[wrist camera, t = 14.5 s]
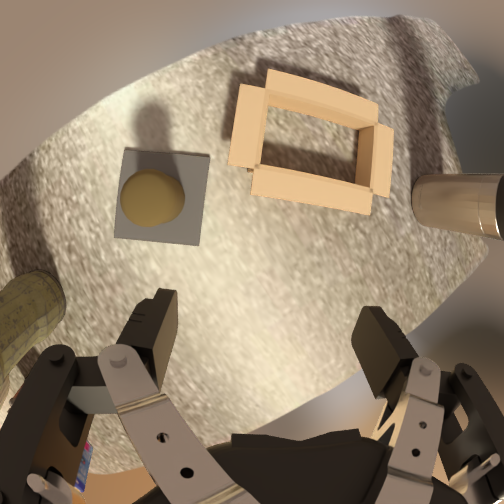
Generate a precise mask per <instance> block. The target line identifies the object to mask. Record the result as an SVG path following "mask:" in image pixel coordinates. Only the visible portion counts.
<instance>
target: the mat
mask: <svg viewBox="0 0 504 504" xmlns="http://www.w3.org/2000/svg"><path fill="white" fill-rule="evenodd" d="M209 163H210V157H201V156H192V155H183V154H172V153H161V152H147V151H131V150H124V154H123V160H122V167H121V174H120V181H119V189H118V197H117V207H116V218H115V231H114V238H122V239H132V240H142V241H152V242H162V243H172V244H182V245H193V246H199V242H200V233H201V224H202V216H203V208H204V200H205V192H206V184H207V177H208V170H209ZM143 169H156V170H158V171H161V172H163V173H164V174H166V175H168V176H171V177H174V178H175V179H176V180H177V181H179V182H180V184H181V186H182V187H183V189H184V193H185V204H184V207H183V209H182V211H181V213H180V214H179V215H178V217H176V218H175V219H173V220H172V221H170V222H167V223H164V224H163V223H161V224H159V225H156V226H153V227H141V226H138V225H136V224H134V223H132V222H131V221H130V220H129V219H127V217H126V216H125V214H124V212H123V211H122V208H121V204H120V193H121V190H122V187H123V185H124V183H125V182H126V181H127V179H128V178H129V177H130V176H131V175H133V174H134V173H136V172H137V171H140V170H143Z"/></svg>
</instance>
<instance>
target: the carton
mask: <svg viewBox="0 0 504 504" xmlns="http://www.w3.org/2000/svg"><path fill="white" fill-rule="evenodd" d="M268 106H273V107H277V108H282V109H286V110H290V111H294V112H298V113H302V114H306V115H310V116H313V117H317V118H320V119H324V120H327V121H331V122H334V123H337V124H340V125H343V126H346V127H349V128H352V129H355V130H358V131H359V139H358V153H357V164H356V174H355V184H353V183H349V182H345V181H341V180H336V179H332V178H328V177H323V176H319V175H314V174H310V173H305V172H300V171H295V170H290V169H285V168H279V167H274V166H268V165H262V164H260V161H261V154H262V146H263V139H264V132H265V124H266V117H267V110H268ZM393 135H394V129H391V128H389V127H387V126H384V125H382V124H379V123H378V104H376V103H374V102H371V101H369V100H367V99H364V98H362V97H359V96H357V95H354V94H351V93H349V92H346V91H343V90H340V89H338V88H335V87H332V86H329V85H326V84H323V83H320V82H316V81H313V80H310V79H307V78H303V77H300V76H296V75H292V74H288V73H284V72H280V71H276V70H272V69H268V71H267V78H266V84H265V88H261V87H256V86H251V85H245V84H240V88H239V94H238V100H237V106H236V112H235V118H234V124H233V131H232V137H231V144H230V150H229V157H228V164H227V165H232V166H239V167H246V168H248V172H251V173H253V177H252V184H251V192H250V195H257V196H263V197H270V198H277V199H283V200H289V201H295V202H301V203H307V204H313V205H319V206H324V207H329V208H335V209H340V210H345V211H350V212H355V213H360V214H365V215H370V211H371V203H372V195H373V194H376V195H380V196H384V197H387V198H389V193H390V183H391V172H392V157H393Z"/></svg>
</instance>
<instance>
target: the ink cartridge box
mask: <svg viewBox="0 0 504 504" xmlns="http://www.w3.org/2000/svg"><path fill="white" fill-rule="evenodd" d="M92 451H93V448H92V446H91V445H90V444H89V442H88V441H87V440H86V444H85V447H84V451H83V455H82V458H81V462H80V466H79V470H78V474H77V478H76V483H75V487H74V488H76V489H77V490H78V491H79V492H84V489H85V484H86V478H87V473H88V469H89V464H90V460H91V455H92Z"/></svg>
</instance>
